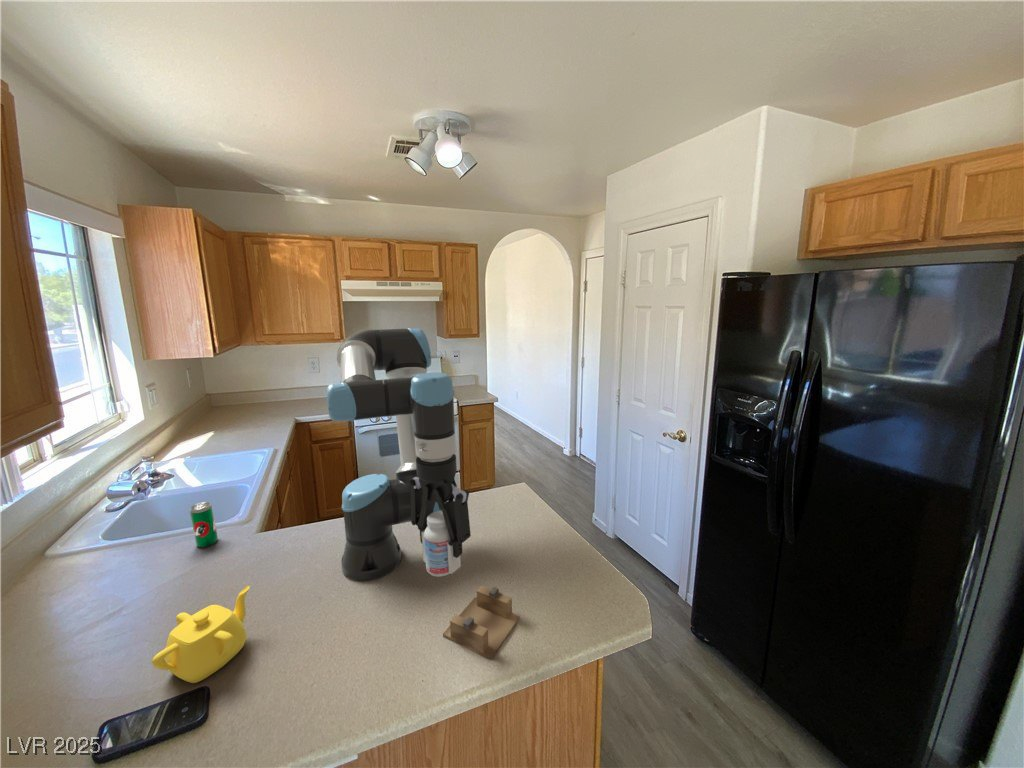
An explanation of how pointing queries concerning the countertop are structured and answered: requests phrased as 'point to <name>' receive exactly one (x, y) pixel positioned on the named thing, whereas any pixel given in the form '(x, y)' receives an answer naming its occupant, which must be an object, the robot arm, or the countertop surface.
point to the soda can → (203, 524)
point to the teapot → (204, 641)
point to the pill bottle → (436, 545)
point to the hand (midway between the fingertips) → (441, 563)
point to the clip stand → (484, 623)
